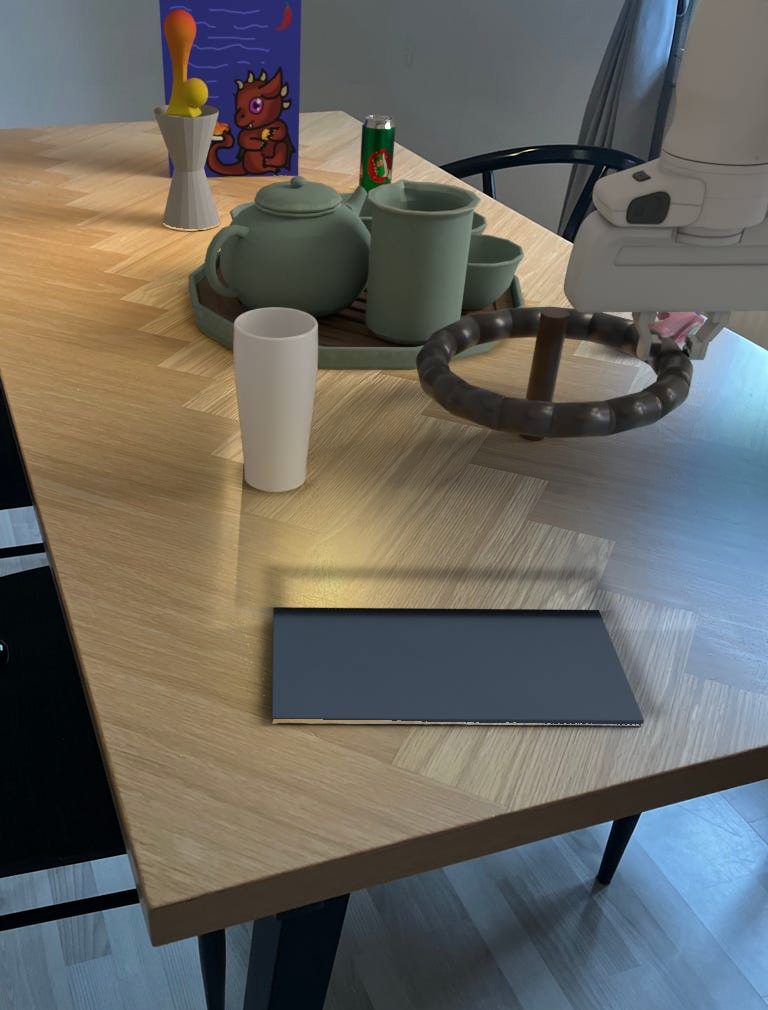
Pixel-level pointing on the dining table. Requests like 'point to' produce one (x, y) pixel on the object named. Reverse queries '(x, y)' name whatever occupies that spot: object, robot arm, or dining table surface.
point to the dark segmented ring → (547, 415)
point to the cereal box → (245, 81)
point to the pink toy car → (676, 324)
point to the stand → (546, 357)
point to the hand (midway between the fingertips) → (669, 357)
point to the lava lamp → (187, 133)
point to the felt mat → (448, 666)
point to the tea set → (358, 268)
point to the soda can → (376, 151)
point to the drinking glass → (275, 394)
